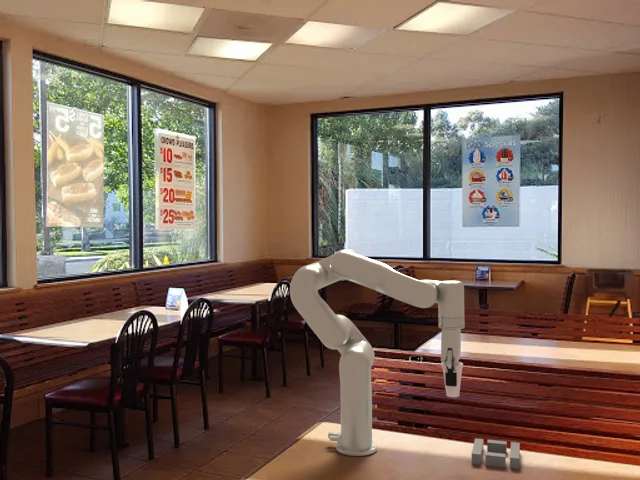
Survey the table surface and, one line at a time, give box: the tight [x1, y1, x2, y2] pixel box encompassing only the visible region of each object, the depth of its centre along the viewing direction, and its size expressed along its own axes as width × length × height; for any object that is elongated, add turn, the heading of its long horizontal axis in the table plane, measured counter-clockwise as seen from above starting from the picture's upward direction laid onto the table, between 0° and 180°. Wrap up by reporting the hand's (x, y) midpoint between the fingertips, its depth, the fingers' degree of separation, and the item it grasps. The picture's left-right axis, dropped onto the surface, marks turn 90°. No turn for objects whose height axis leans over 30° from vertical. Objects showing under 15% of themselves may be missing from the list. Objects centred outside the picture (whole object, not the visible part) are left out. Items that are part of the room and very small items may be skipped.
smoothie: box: [440, 360, 464, 398], centre depth 183 cm, size 6×6×14 cm
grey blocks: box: [471, 437, 521, 470], centre depth 182 cm, size 13×13×3 cm
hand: (452, 382), depth 183 cm, fingers closed on smoothie, 6 cm apart
